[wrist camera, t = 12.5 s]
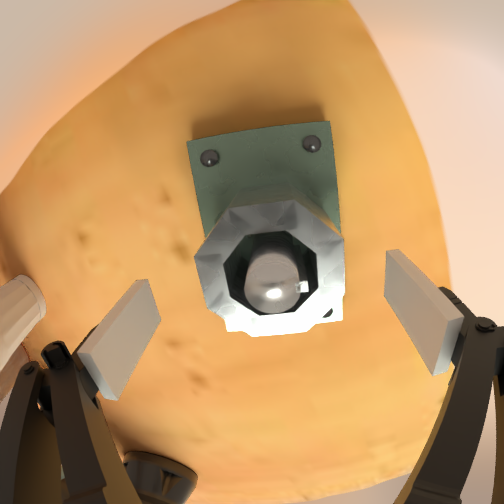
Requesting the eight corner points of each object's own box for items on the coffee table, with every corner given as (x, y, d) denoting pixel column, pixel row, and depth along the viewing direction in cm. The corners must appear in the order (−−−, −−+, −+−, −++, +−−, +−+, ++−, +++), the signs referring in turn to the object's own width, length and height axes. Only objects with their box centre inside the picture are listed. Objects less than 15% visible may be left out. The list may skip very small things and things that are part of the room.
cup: (24, 258, 26) (-44, 308, 15) (60, 313, 28) (2, 376, 17) (4, 282, 28) (-51, 327, 16) (35, 329, 30) (-13, 383, 19)
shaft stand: (229, 321, 26) (212, 396, 18) (192, 141, 20) (140, 145, 12) (339, 310, 25) (361, 383, 16) (325, 122, 19) (361, 111, 11)
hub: (229, 291, 23) (215, 338, 18) (208, 193, 20) (184, 215, 15) (329, 280, 22) (344, 326, 16) (321, 178, 19) (340, 194, 14)
